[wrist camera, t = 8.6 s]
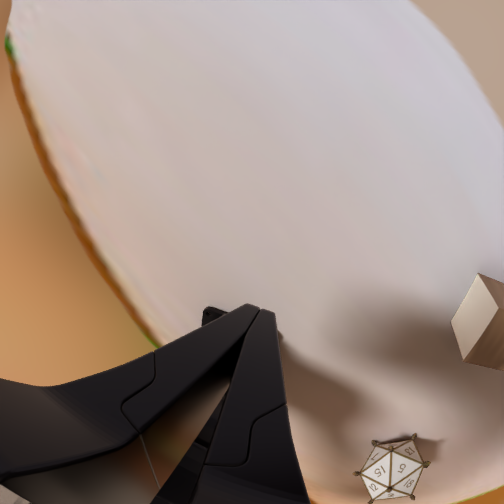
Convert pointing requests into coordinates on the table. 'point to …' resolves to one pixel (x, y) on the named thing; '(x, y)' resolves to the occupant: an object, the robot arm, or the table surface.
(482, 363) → the brown rectangular block
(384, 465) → the game die
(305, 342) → the table surface
